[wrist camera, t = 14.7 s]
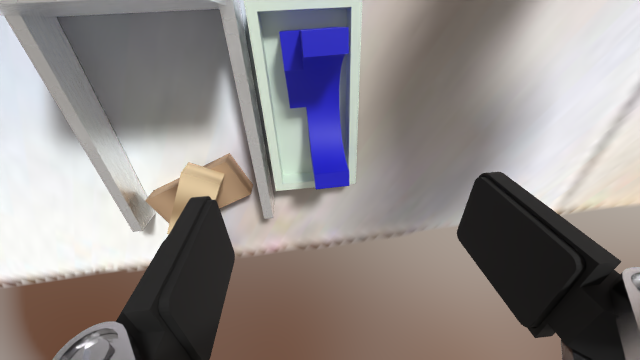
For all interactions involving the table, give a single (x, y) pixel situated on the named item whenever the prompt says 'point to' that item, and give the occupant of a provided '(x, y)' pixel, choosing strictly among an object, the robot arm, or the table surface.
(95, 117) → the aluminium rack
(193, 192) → the oak offcut
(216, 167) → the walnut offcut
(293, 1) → the sage tray
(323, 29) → the cable clip
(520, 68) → the table surface
